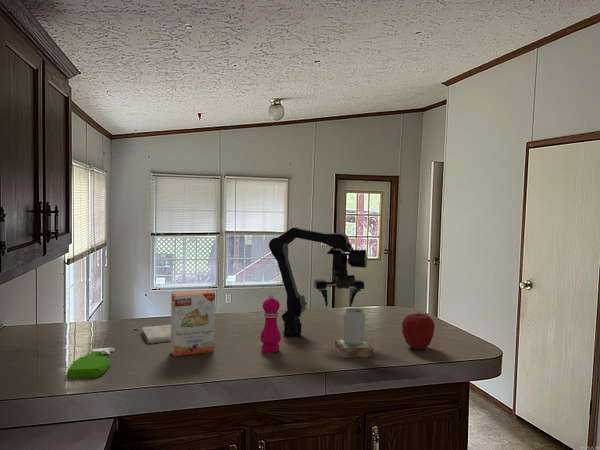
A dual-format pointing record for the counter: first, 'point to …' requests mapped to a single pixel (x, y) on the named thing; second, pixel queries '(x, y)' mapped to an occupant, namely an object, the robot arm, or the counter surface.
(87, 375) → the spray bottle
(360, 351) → the plinth
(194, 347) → the cracker box
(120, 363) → the counter surface
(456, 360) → the counter surface
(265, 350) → the pepper mill
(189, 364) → the counter surface
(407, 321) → the apple
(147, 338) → the washcloth
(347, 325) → the can
